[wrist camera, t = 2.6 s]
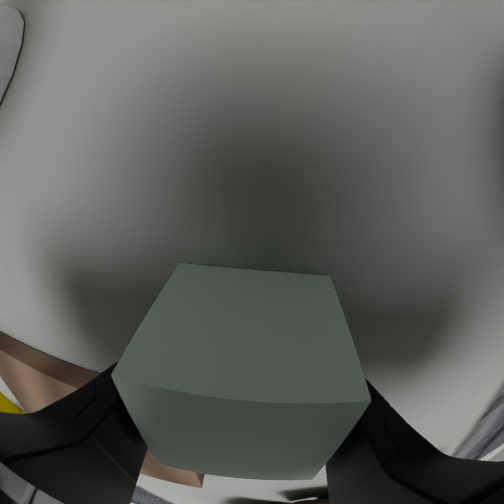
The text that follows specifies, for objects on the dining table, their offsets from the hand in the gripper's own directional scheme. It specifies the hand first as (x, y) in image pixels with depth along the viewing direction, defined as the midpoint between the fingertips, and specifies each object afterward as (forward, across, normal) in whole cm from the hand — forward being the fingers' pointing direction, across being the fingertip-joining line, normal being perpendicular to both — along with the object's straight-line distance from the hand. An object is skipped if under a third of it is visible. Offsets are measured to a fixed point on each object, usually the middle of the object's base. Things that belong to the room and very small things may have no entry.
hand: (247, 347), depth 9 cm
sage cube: (+1, 0, 0) cm, 1 cm away
